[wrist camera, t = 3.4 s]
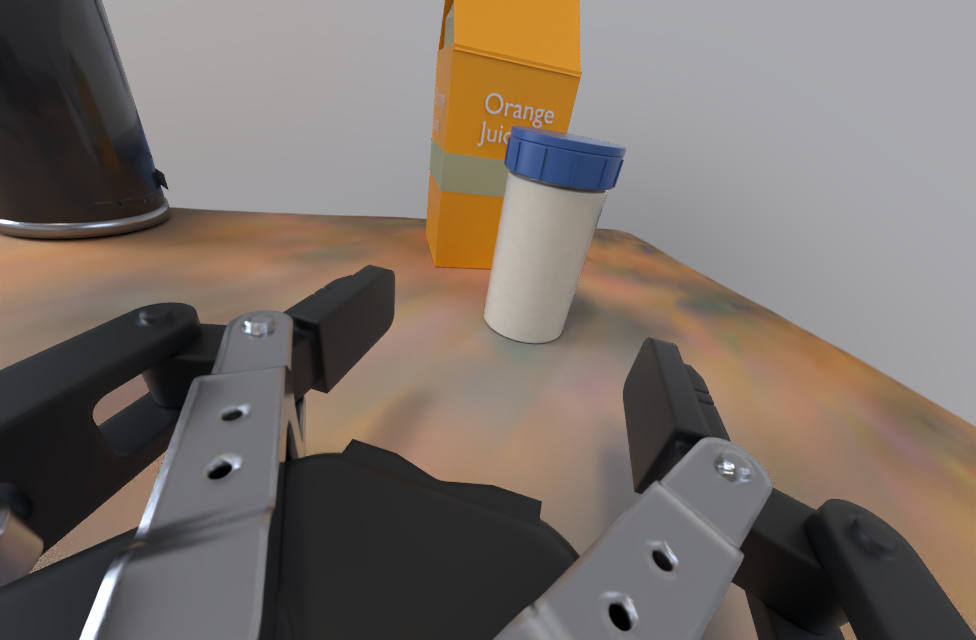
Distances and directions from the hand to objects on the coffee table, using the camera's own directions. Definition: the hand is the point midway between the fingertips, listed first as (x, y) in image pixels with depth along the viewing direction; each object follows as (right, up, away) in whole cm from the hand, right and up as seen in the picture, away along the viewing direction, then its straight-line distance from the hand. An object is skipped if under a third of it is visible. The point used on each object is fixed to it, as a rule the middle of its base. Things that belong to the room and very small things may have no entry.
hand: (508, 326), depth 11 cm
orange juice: (-2, +6, +22) cm, 23 cm away
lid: (+3, +9, +7) cm, 12 cm away
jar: (+2, 0, +12) cm, 13 cm away
